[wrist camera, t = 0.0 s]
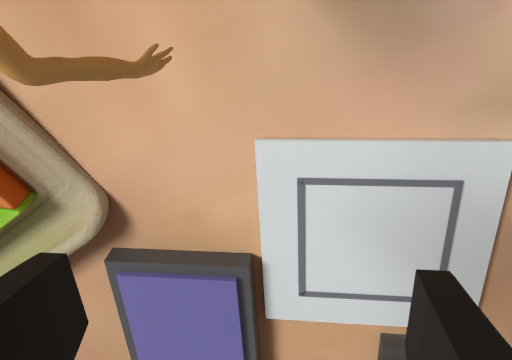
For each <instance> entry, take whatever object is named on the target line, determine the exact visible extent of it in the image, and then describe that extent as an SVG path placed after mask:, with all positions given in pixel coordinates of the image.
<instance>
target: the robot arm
mask: <svg viewBox="0 0 512 360" xmlns="http://www.w3.org/2000/svg"><path fill="white" fill-rule="evenodd" d="M88 323H89V322H88V319H87V316H86V313H85V310H84V306H83V303H82V300H81V297H80V294H79V291H78V288H77V285H76V282H75V278H74V275H73V272H72V269H71V266H70V263H69V260H68V257H67V254H66V253H46V252H40V253H38V254H36V255H35V256H33V257H31V258H29V259H28V260H26V261H24V262H23V263H21V264H19V265H18V266H16V267H14V268H13V269H11V270H10V271H8V272H7V273H5V274H4V275H2V276H0V360H74V358H75V356H76V354H77V351H78V349H79V346H80V344H81V341H82V339H83V336H84V333H85V331H86V328H87V325H88ZM405 350H406V359H407V360H512V347H511V346H510V345H509V344H508V343H507V342H506V340H505V339H504V338H503V337H502V336H501V334H500V333H499V332H498V331H497V330H496V328H495V327H494V326H493V325H492V323H491V322H490V321H489V320H488V318H487V317H486V316H485V315H484V313H483V312H482V311H481V310H480V308H479V307H478V306H477V305H476V303H475V302H474V301H473V299H472V298H471V297H470V296H469V294H468V293H467V292H466V290H465V289H464V288H463V286H462V285H461V284H460V283H459V281H458V280H457V279H456V277H455V276H454V275H453V274H452V273H451V272H450V271H443V270H421V269H416V273H415V279H414V286H413V293H412V299H411V306H410V313H409V319H408V326H407V333H406V339H405Z"/></svg>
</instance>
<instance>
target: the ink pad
mask: <svg viewBox="0 0 512 360" xmlns="http://www.w3.org/2000/svg"><path fill="white" fill-rule="evenodd" d="M104 262H105V266H106V270H107V273H108V277H109V280H110V284H111V288H112V291H113V295H114V298H115V302H116V306H117V309H118V313H119V317H120V320H121V324H122V327H123V331H124V335H125V338H126V342H127V346H128V349H129V353H130V356H131V360H260V354H259V341H258V327H257V314H256V301H255V287H254V274H253V261H252V254H246V253H221V252H197V251H173V250H149V249H125V248H112V250H111V251H110V253H109V254H108V256H107V257H106V259H105V260H104Z"/></svg>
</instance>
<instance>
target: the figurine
mask: <svg viewBox="0 0 512 360" xmlns="http://www.w3.org/2000/svg"><path fill="white" fill-rule="evenodd" d="M158 46H159V44H154V45H153V46H151V47H150V48H149V49H148V50H147V51H146V52H145V53H144V54H143V56H142V57H141V58H140V59H139V60H137V61H135V62H128V61H125V60H120V59H115V58H109V57H80V58H64V57H46V58H33V57H31V56H29V55H28V54H27V53H26V52H25V51H24V50H23V49H22V48H21V46H20V45H19V44H18V43H17V42H16V41H15V40H14V39H13V38H12V37H11V36H10V35H9V34H8V33H7V32H6V31H5V30H4V29H3V28H2V27H1V26H0V72H1V73H3V74H5V75H6V76H8V77H9V78H11V79H13V80H15V81H17V82H19V83H22V84H25V85H31V86H42V85H49V84H54V83H59V82H65V81H109V80H115V79H122V78H141V77H144V76H148V75H151V74H154V73H156V72H157V71H159V70H161V69H162V68H163V67H164V66H165V64H167V63H168V62H169V61H170V60H171V59H172V56H169V57H167V58H164V59H162V58H163V57H165V56H166V55H168V54H169V53H170V52H171V51H172V50H173V47H169V48H168V49H166V50H164V51H162V52H160V53H158V54H156V55H154V56H152V54H153V52H154V51H155V50H156V49H157V47H158ZM161 59H162V60H161Z"/></svg>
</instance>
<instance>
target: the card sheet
mask: <svg viewBox="0 0 512 360" xmlns="http://www.w3.org/2000/svg"><path fill="white" fill-rule="evenodd" d="M255 154H256V170H257V186H258V202H259V218H260V234H261V251H262V267H263V283H264V299H265V315H266V319H283V320H299V321H315V322H332V323H348V324H364V325H381V326H397V327H407V326H408V319H409V313H410V306H411V299H412V293H413V286H414V279H415V273H416V269H421V270H443V271H450V272H451V273H452V274H453V275H454V276H455V277H456V279H457V280H458V281H459V283H460V284H461V285H462V286H463V288H464V289H465V290H466V292H467V293H468V294H469V296H470V297H471V298H472V299H473V301H474V302H475V303H476V305H477V306H478V305H479V301H480V297H481V293H482V289H483V285H484V281H485V277H486V273H487V269H488V265H489V261H490V257H491V253H492V249H493V244H494V240H495V236H496V232H497V228H498V224H499V220H500V216H501V212H502V208H503V204H504V200H505V196H506V192H507V188H508V183H509V179H510V175H511V171H512V140H489V139H295V138H255Z"/></svg>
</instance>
